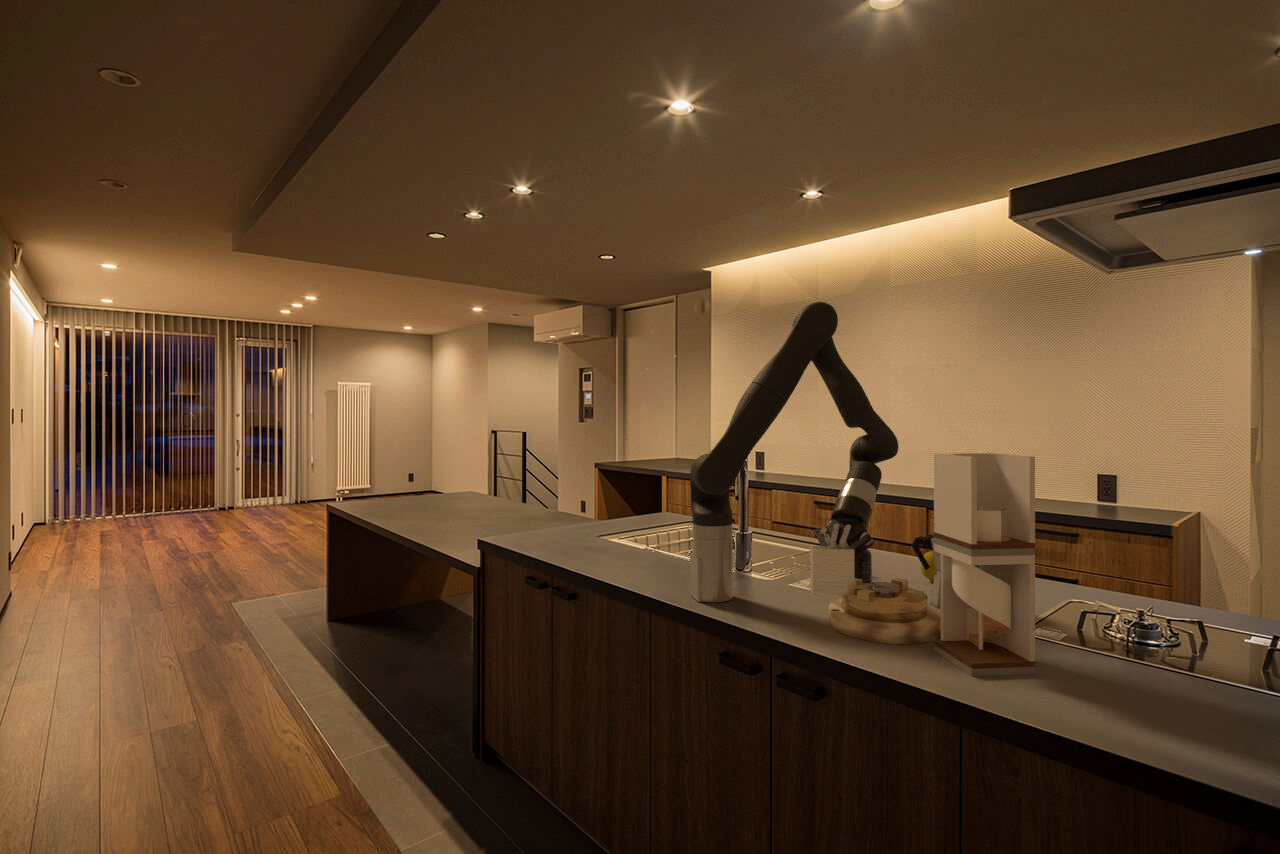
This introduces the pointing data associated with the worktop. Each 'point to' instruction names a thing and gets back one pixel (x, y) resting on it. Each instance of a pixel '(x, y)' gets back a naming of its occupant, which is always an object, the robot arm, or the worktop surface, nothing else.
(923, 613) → the gold stand with panel
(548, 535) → the worktop surface
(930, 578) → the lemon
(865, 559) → the supplement bottle
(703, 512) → the robot arm
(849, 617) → the cap plate
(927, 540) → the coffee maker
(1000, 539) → the white tower model
